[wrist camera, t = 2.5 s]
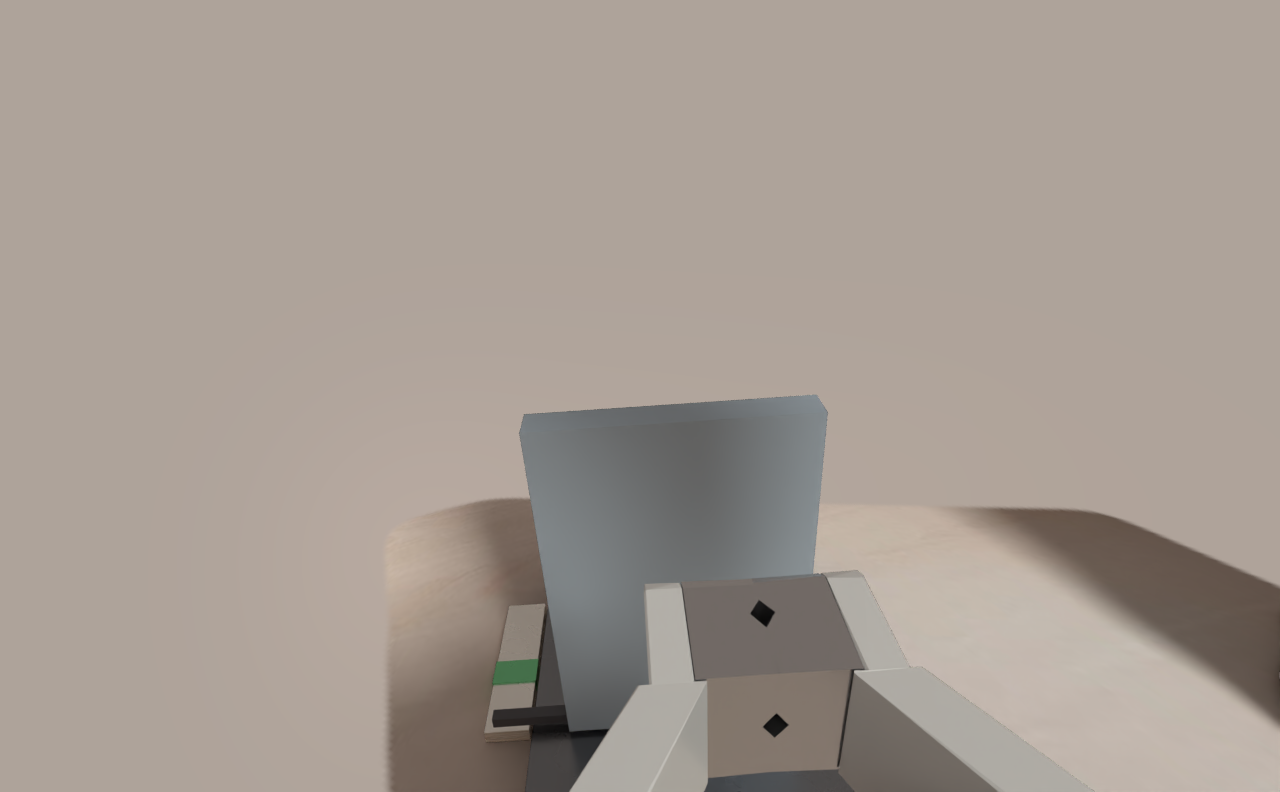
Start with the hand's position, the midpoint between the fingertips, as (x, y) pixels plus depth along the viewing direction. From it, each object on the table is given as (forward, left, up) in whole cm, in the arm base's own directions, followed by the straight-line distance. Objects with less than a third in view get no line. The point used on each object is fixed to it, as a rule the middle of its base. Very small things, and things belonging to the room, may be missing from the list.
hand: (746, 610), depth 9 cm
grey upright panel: (+2, -15, -23) cm, 28 cm away
